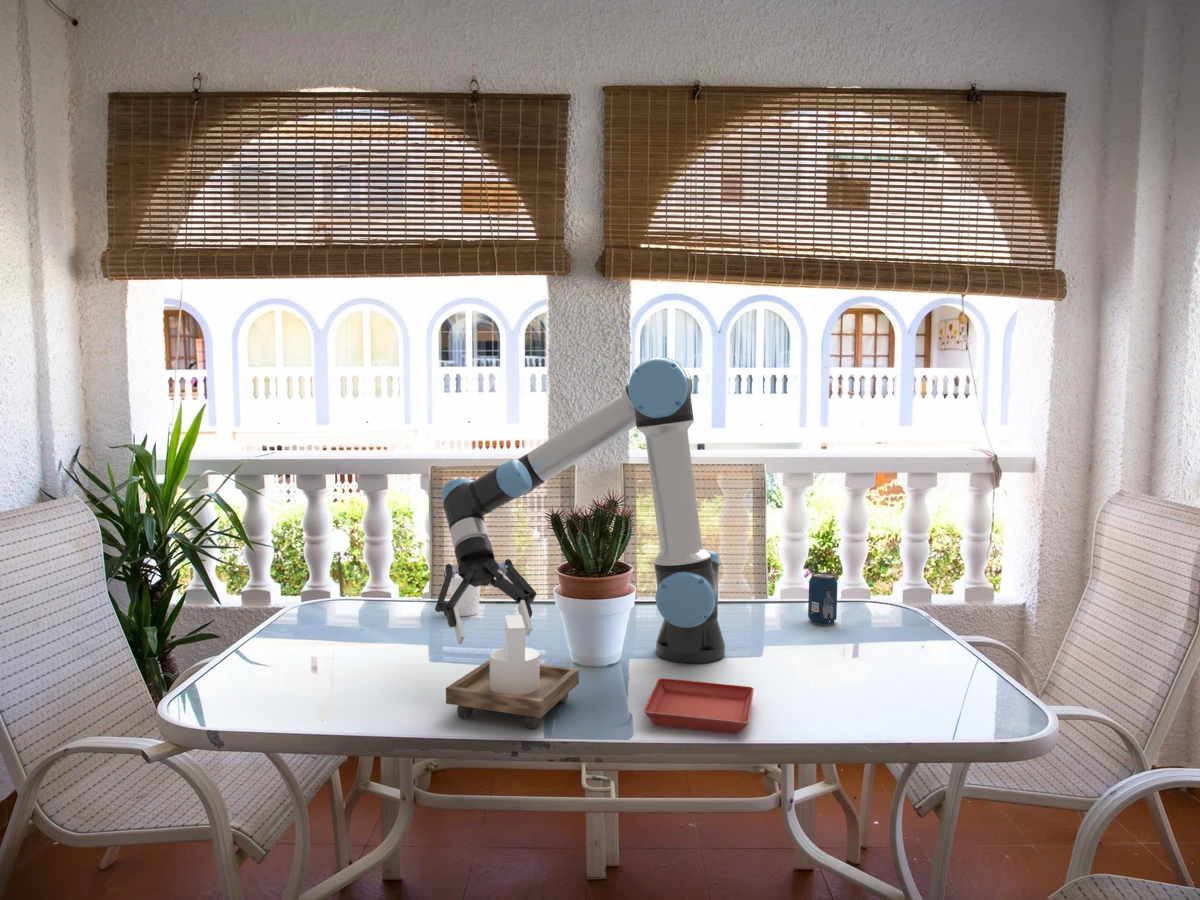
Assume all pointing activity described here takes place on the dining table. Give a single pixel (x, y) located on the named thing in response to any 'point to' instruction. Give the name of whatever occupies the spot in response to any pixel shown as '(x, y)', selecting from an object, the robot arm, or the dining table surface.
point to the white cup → (466, 597)
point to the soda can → (822, 598)
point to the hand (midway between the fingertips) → (495, 636)
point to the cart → (534, 705)
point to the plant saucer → (700, 705)
